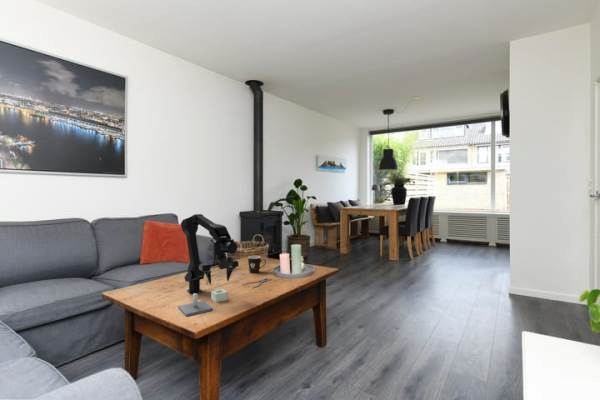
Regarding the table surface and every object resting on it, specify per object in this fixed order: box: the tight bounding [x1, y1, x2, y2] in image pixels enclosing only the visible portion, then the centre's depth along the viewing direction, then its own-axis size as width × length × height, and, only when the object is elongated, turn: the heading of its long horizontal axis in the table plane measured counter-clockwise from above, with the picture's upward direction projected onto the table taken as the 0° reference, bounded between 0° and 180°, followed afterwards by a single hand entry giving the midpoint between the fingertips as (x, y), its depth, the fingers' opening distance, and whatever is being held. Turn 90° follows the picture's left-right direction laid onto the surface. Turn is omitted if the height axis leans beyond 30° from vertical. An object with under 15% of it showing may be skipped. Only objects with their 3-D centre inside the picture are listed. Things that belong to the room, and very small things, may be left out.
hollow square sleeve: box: [210, 288, 228, 303], centre depth 158 cm, size 6×6×4 cm
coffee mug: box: [247, 255, 267, 274], centre depth 211 cm, size 12×9×10 cm
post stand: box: [177, 292, 214, 317], centre depth 145 cm, size 12×12×7 cm
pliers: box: [241, 277, 272, 289], centre depth 188 cm, size 10×1×20 cm
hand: (219, 282), depth 158 cm, fingers open, 9 cm apart
